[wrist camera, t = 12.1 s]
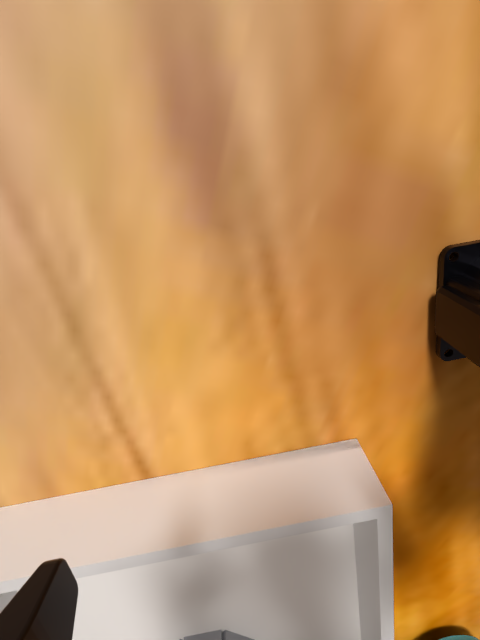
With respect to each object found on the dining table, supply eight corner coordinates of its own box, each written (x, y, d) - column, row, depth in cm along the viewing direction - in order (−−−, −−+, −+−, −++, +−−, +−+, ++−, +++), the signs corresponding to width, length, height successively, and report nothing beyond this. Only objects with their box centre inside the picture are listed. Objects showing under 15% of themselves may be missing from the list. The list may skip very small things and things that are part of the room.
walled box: (356, 438, 24) (392, 504, 20) (368, 658, 34) (395, 737, 29) (-32, 513, 24) (-87, 599, 19) (91, 715, 33) (74, 804, 29)
